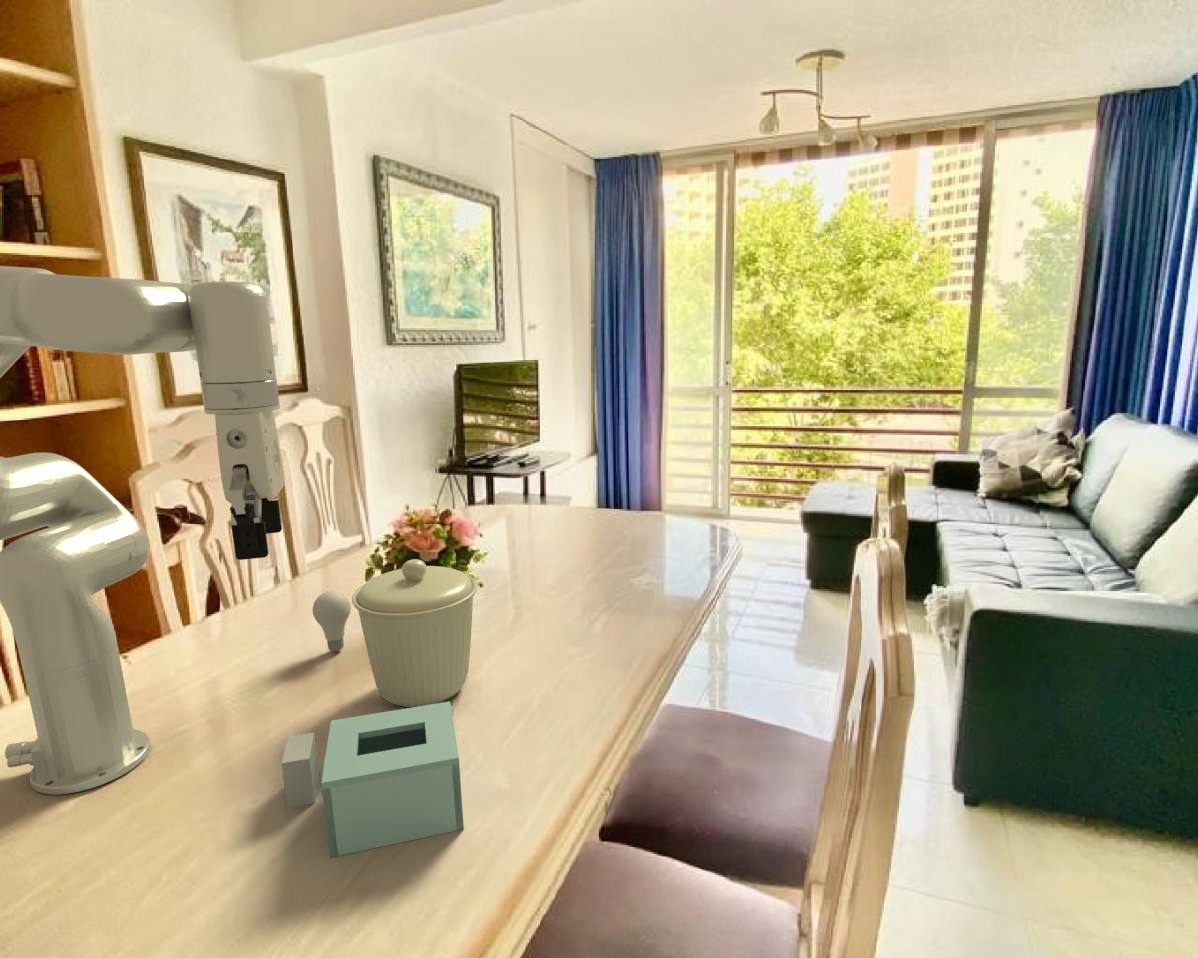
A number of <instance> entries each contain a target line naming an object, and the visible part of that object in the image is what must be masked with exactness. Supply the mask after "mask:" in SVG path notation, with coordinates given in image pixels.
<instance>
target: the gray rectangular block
mask: <svg viewBox="0 0 1198 958" xmlns="http://www.w3.org/2000/svg"><path fill="white" fill-rule="evenodd" d="M280 764H281V771H282V779H283V785H284V793H285V799H286V809H293V808H296V807H301V806H307V805H311V804H312V805H313V804H315V803H316V799H317V797H316V796H317V792H318V786H319V785H318V784H319V781H320V780H319V779H320V769H319V761H318V751H317V743H316V736H315V732H309V733H303V734H297V735H291V736H287V739H286V744H285V747H284V752H283V755H282V759H281V762H280Z"/></svg>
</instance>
